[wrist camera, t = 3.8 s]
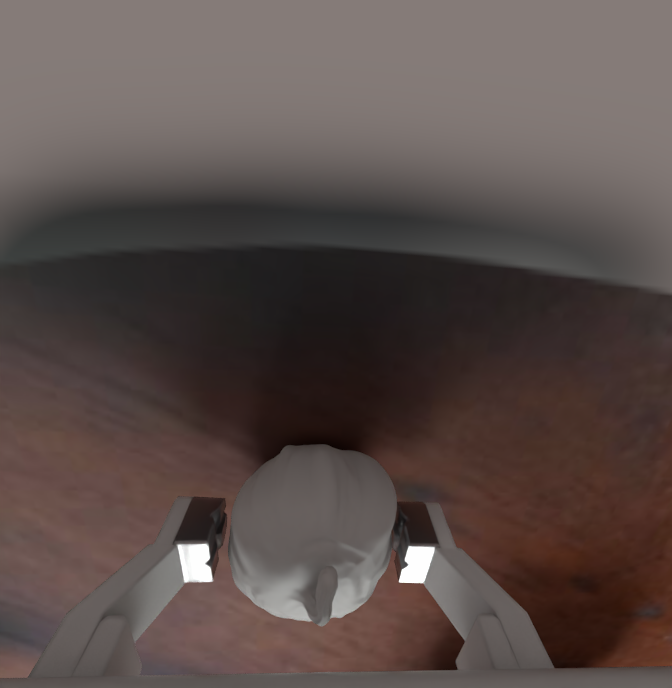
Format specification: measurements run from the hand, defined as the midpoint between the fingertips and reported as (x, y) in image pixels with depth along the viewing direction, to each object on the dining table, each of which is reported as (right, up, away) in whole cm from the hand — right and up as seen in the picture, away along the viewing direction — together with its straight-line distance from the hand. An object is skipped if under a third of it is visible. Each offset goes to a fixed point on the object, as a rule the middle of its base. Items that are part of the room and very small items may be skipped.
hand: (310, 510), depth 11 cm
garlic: (0, +1, +2) cm, 2 cm away
